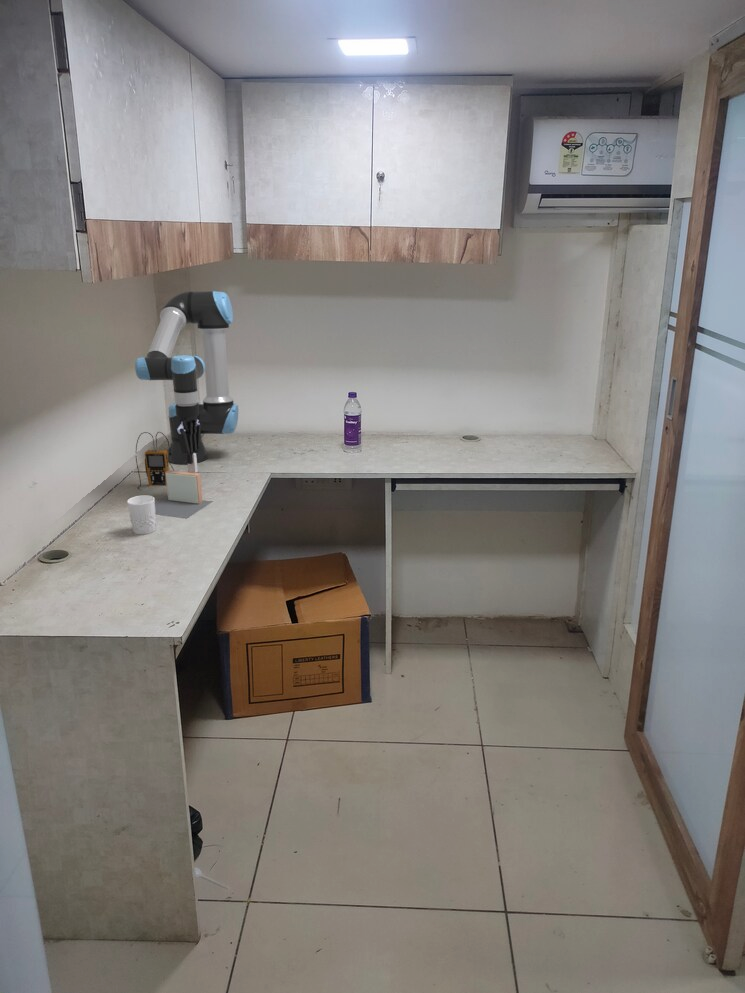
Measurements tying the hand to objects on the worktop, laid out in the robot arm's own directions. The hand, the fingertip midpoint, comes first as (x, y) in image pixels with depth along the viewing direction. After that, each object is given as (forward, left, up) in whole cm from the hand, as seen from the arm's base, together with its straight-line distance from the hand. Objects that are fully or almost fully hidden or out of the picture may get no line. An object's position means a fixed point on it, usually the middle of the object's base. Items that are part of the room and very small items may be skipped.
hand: (193, 471), depth 243 cm
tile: (+6, 0, -9) cm, 10 cm away
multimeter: (-2, -17, -9) cm, 20 cm away
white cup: (+31, +1, -9) cm, 32 cm away
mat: (+12, 0, -9) cm, 15 cm away
